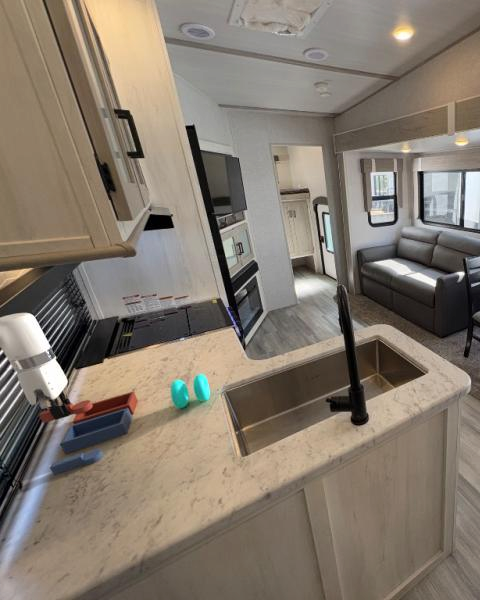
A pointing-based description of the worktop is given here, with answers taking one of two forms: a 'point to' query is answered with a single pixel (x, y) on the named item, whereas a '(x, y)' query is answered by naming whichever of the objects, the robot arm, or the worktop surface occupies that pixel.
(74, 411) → the red elongated piece
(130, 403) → the red bin
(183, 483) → the worktop surface
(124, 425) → the blue bin
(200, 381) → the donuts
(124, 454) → the worktop surface
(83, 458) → the blue spoon
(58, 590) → the worktop surface
